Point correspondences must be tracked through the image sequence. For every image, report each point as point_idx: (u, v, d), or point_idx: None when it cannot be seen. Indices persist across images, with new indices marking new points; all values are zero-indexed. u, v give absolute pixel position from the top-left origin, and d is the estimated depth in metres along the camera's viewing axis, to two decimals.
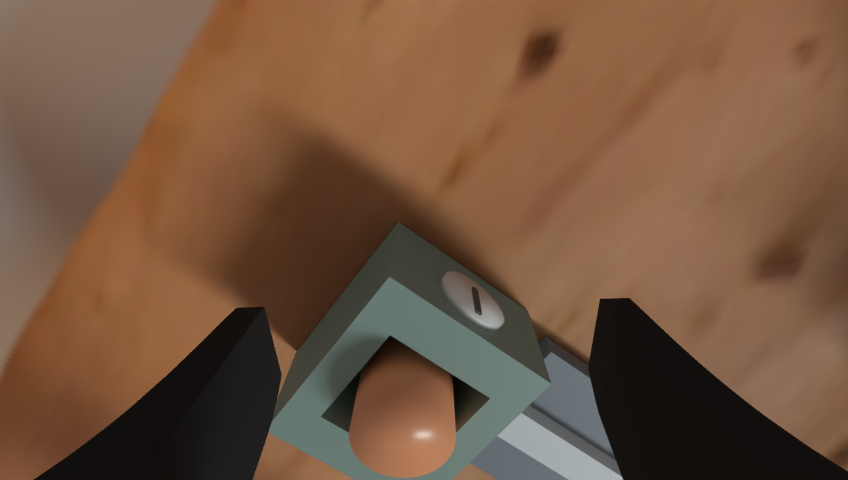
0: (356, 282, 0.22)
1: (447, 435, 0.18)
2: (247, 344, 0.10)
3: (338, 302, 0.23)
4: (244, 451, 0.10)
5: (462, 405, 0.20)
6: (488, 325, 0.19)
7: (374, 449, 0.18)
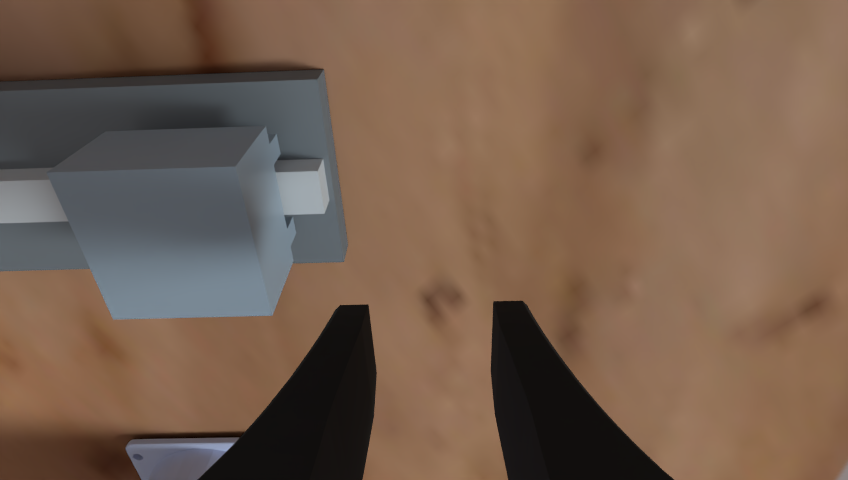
0: None
1: None
2: (361, 342, 0.10)
3: None
4: (359, 448, 0.10)
5: None
6: None
7: None
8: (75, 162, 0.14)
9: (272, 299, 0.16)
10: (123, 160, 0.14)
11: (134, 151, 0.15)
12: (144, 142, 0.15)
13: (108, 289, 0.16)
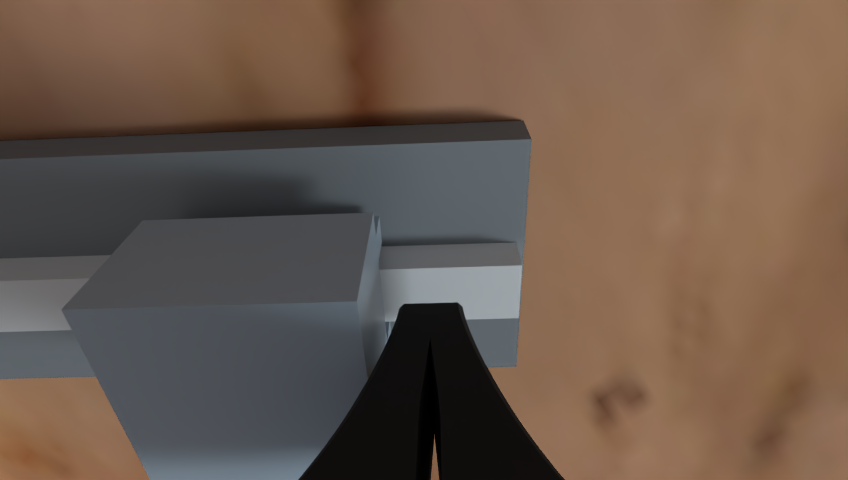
0: None
1: None
2: None
3: None
4: (429, 447, 0.10)
5: None
6: None
7: None
8: (104, 286, 0.09)
9: None
10: (176, 282, 0.09)
11: (191, 263, 0.10)
12: (203, 244, 0.11)
13: (149, 453, 0.11)
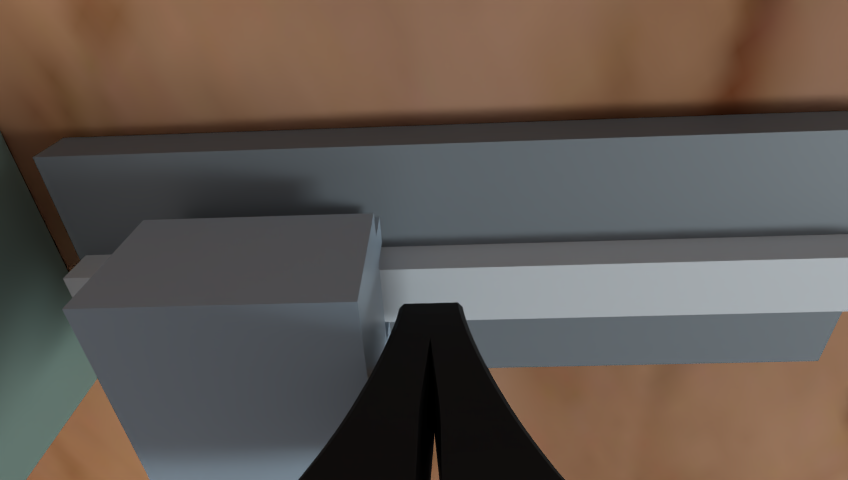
0: None
1: None
2: None
3: None
4: (429, 448, 0.10)
5: None
6: None
7: None
8: (105, 286, 0.09)
9: None
10: (177, 281, 0.10)
11: (192, 263, 0.10)
12: (203, 244, 0.11)
13: (149, 453, 0.11)
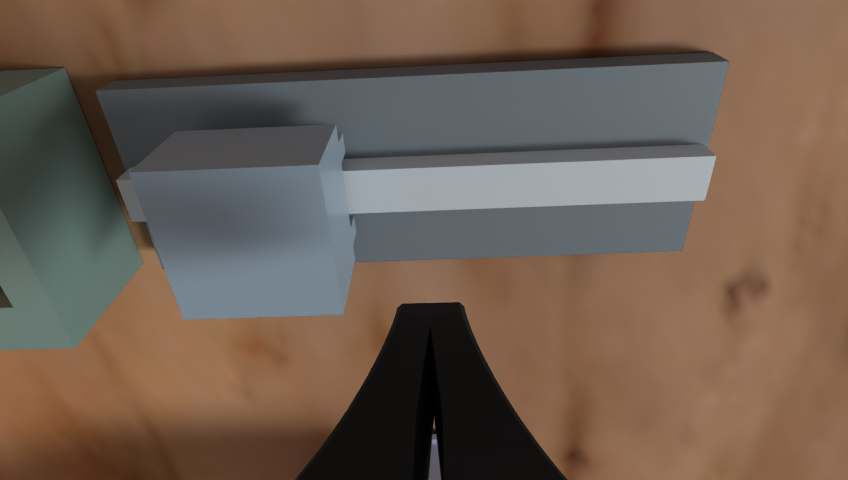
0: None
1: None
2: (429, 340, 0.10)
3: None
4: (427, 448, 0.10)
5: None
6: None
7: None
8: (154, 162, 0.14)
9: (343, 298, 0.16)
10: (201, 159, 0.14)
11: (210, 150, 0.15)
12: (218, 141, 0.15)
13: (181, 289, 0.16)
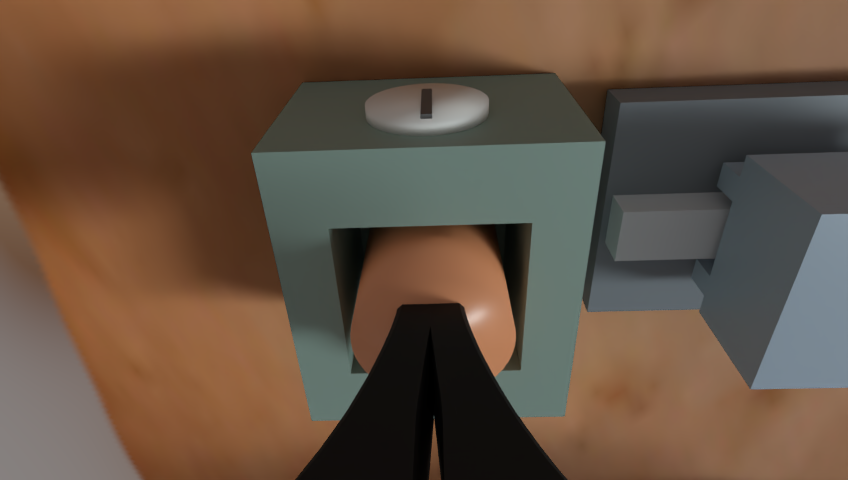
0: None
1: (485, 302, 0.11)
2: (430, 340, 0.10)
3: None
4: (427, 448, 0.10)
5: (521, 255, 0.13)
6: (453, 123, 0.11)
7: None
8: (824, 199, 0.11)
9: None
10: None
11: None
12: (845, 170, 0.12)
13: (776, 355, 0.13)
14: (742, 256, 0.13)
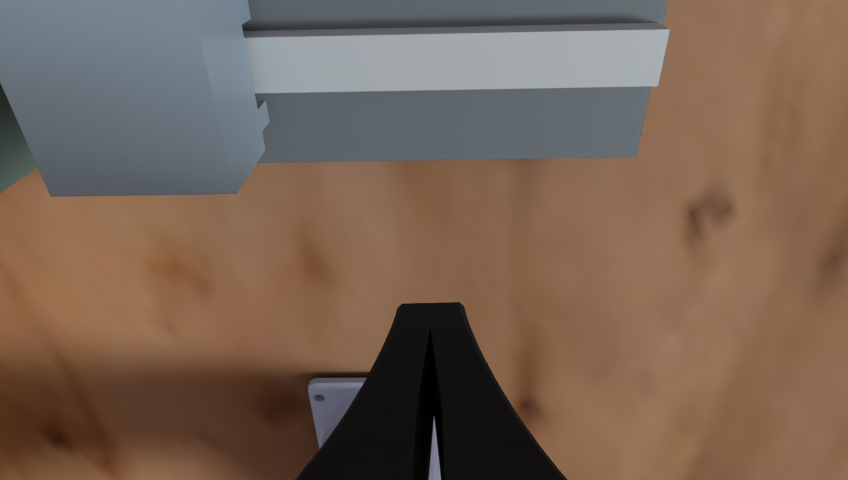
0: None
1: None
2: (429, 340, 0.10)
3: None
4: (427, 448, 0.10)
5: None
6: None
7: None
8: None
9: (236, 175, 0.14)
10: None
11: None
12: None
13: (43, 156, 0.14)
14: None
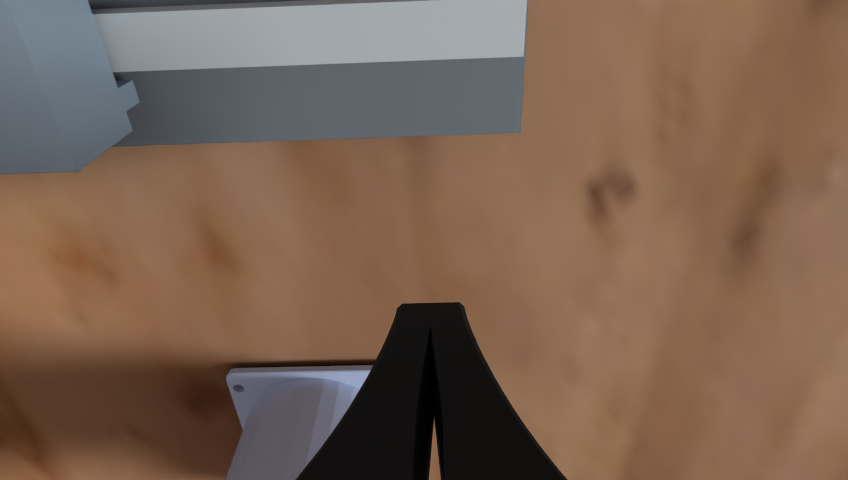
0: None
1: None
2: (429, 340, 0.10)
3: None
4: (427, 447, 0.10)
5: None
6: None
7: None
8: None
9: (78, 152, 0.14)
10: None
11: None
12: None
13: None
14: None
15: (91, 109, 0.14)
